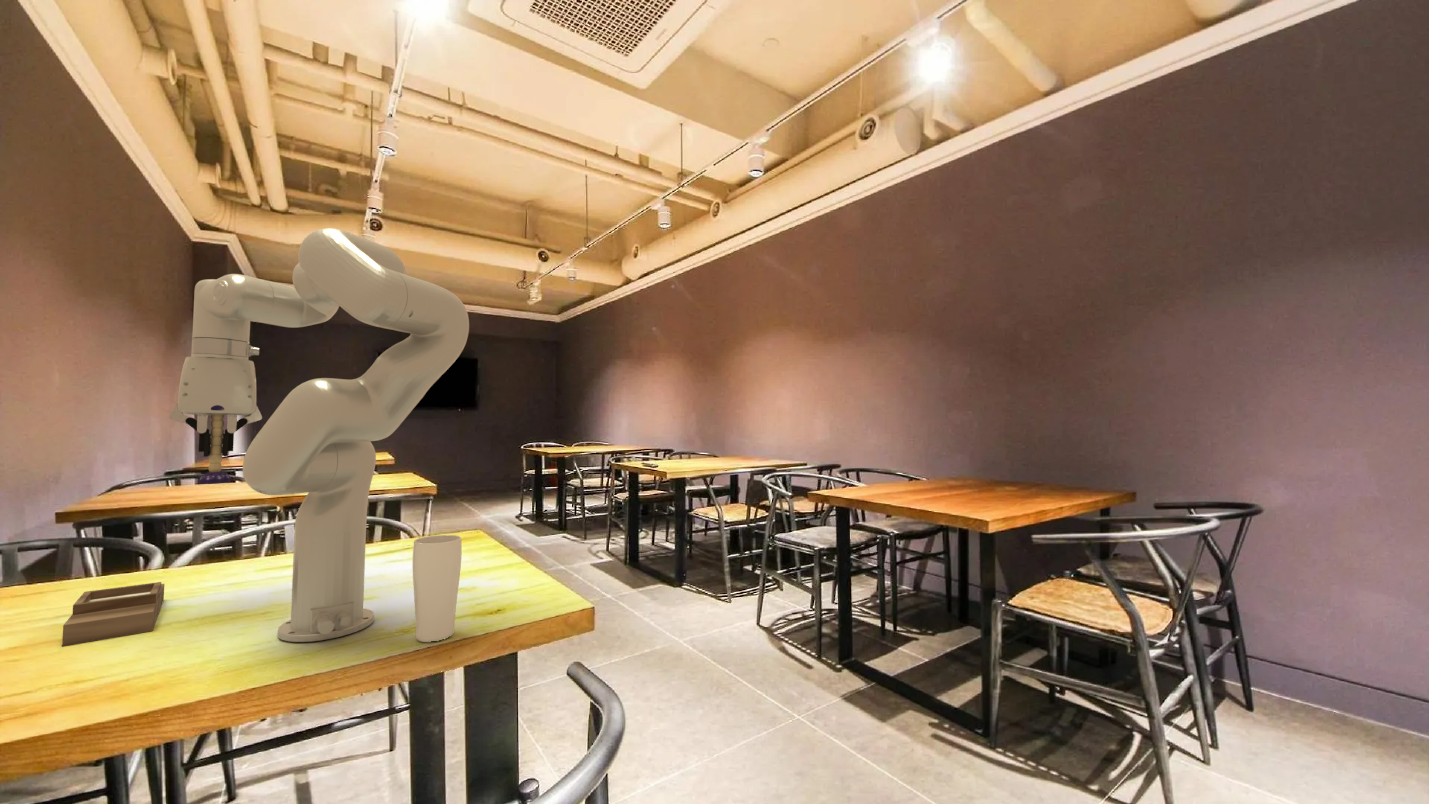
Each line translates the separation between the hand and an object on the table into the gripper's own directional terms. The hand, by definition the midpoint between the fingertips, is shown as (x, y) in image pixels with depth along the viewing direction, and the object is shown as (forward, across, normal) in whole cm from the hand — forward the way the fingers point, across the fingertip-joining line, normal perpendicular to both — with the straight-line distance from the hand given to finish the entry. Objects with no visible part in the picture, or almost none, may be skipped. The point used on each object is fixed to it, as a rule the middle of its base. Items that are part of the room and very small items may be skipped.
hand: (215, 455), depth 96 cm
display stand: (+27, +11, -4) cm, 29 cm away
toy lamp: (+5, 0, 0) cm, 5 cm away
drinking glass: (+27, -27, +37) cm, 53 cm away
